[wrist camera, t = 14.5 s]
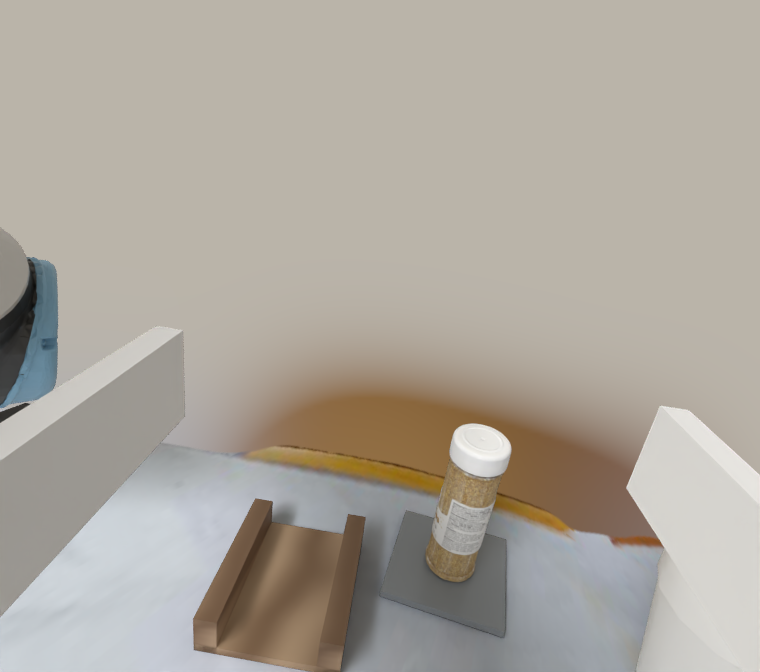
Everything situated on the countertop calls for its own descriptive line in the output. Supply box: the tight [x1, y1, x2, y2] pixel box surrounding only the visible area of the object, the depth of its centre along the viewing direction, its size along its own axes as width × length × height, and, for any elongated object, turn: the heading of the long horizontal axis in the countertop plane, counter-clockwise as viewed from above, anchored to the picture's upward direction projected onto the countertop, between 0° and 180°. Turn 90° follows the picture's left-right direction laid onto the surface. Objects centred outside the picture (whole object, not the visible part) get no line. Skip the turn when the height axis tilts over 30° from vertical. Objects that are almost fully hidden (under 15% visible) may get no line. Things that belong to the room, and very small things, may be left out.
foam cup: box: [635, 548, 744, 672], centre depth 29 cm, size 10×9×13 cm
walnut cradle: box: [193, 498, 366, 672], centre depth 36 cm, size 10×12×3 cm
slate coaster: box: [380, 510, 506, 638], centre depth 41 cm, size 10×10×1 cm
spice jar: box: [425, 424, 511, 582], centre depth 38 cm, size 5×5×13 cm
